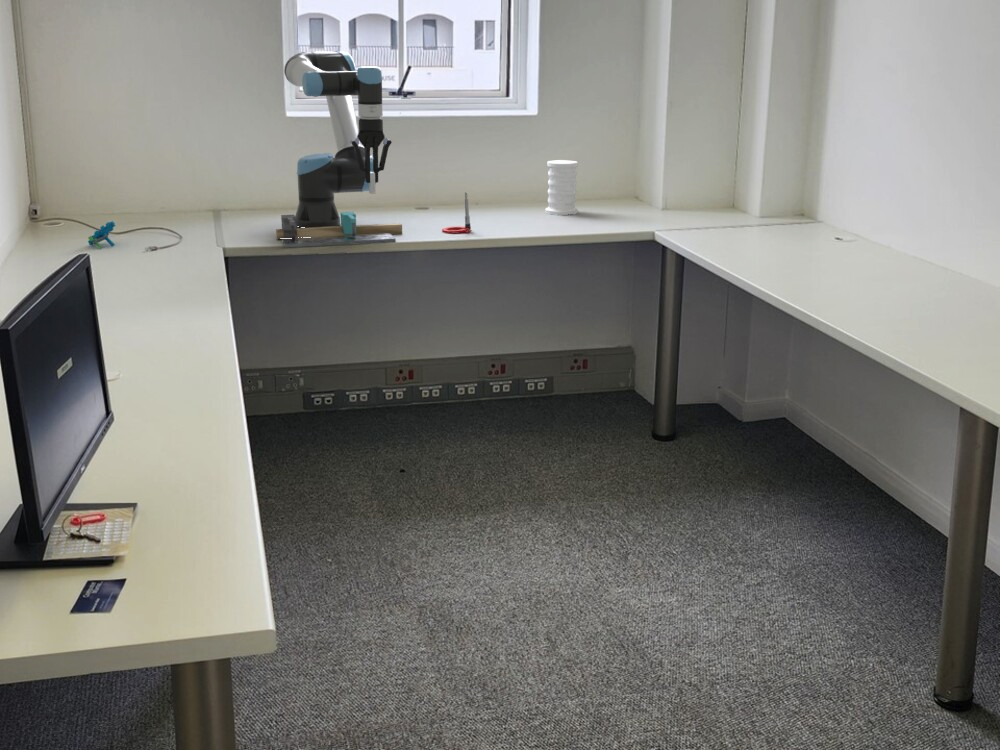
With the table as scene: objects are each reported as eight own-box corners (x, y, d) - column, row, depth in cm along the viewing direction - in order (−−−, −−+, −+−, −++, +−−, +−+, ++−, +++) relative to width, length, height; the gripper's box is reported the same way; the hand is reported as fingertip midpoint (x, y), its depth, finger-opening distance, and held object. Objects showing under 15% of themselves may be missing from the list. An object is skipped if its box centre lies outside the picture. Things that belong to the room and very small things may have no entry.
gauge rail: (276, 237, 357) (274, 215, 355) (399, 231, 369) (399, 209, 366) (280, 245, 346) (279, 222, 344) (408, 238, 357) (407, 215, 355)
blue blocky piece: (102, 236, 350) (117, 215, 345) (116, 250, 350) (130, 229, 345) (79, 247, 341) (93, 226, 335) (93, 261, 341) (107, 241, 336)
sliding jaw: (341, 231, 363) (340, 212, 361) (353, 230, 364) (352, 211, 362) (348, 238, 352) (347, 218, 350) (360, 237, 353) (360, 218, 351)
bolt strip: (282, 242, 351) (282, 238, 350) (389, 236, 360) (389, 233, 360) (285, 247, 342) (285, 244, 342) (395, 241, 352) (395, 238, 352)
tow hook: (441, 235, 366) (469, 233, 366) (438, 195, 362) (467, 194, 362) (443, 230, 374) (471, 229, 374) (441, 191, 370) (469, 190, 370)
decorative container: (574, 215, 399) (575, 164, 394) (542, 214, 402) (543, 163, 396) (579, 210, 410) (581, 160, 404) (548, 209, 412) (549, 159, 407)
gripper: (352, 119, 347) (354, 195, 355) (393, 118, 351) (394, 194, 359) (347, 116, 354) (350, 191, 362) (388, 115, 358) (389, 190, 366)
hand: (372, 192), depth 360 cm, fingers closed
